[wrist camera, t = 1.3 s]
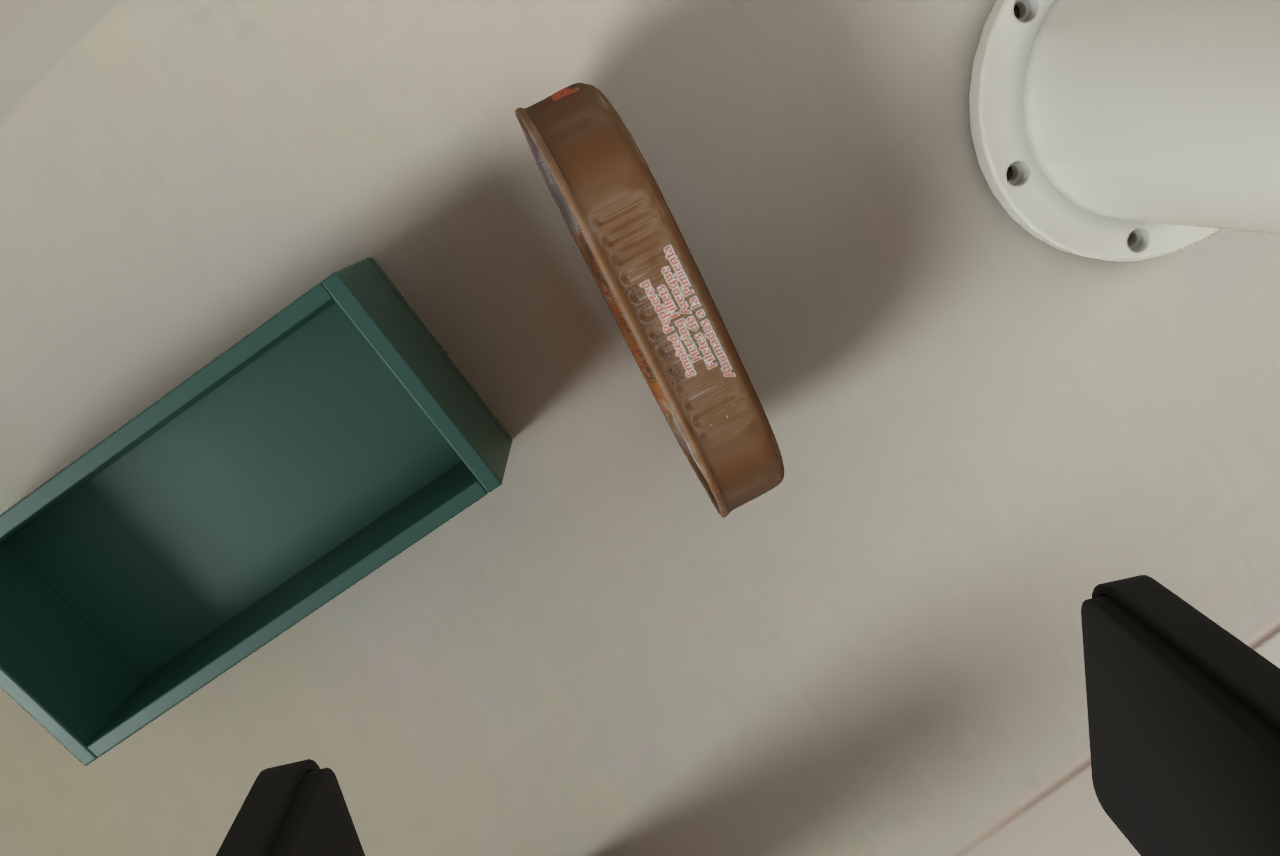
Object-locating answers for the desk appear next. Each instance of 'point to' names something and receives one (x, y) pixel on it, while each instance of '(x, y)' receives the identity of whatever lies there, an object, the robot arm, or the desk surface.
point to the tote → (236, 509)
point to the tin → (654, 292)
